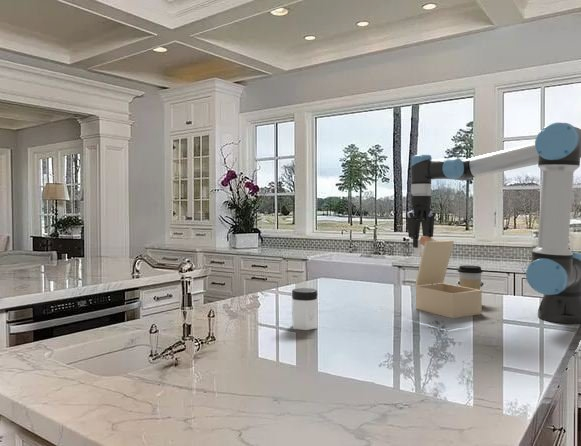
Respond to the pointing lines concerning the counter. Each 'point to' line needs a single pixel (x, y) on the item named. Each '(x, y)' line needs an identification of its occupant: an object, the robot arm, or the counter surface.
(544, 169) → the robot arm
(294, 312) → the jar
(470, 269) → the coffee cup
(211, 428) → the counter surface
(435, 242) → the lid flap
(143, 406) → the counter surface
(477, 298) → the carton
